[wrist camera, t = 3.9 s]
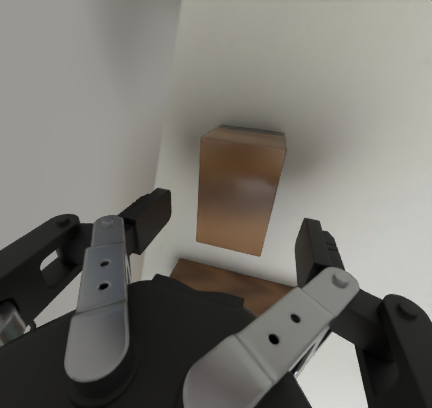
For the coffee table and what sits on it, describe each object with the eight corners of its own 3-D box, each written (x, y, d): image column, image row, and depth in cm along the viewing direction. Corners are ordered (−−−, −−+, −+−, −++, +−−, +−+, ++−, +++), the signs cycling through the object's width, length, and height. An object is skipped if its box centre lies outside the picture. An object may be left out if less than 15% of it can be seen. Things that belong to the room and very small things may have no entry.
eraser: (264, 220, 20) (260, 257, 16) (213, 210, 21) (195, 241, 17) (285, 132, 16) (287, 149, 12) (220, 124, 17) (200, 137, 13)
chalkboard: (180, 365, 38) (165, 407, 33) (179, 258, 25) (154, 301, 20) (258, 392, 36) (255, 443, 31) (302, 289, 23) (309, 348, 18)
